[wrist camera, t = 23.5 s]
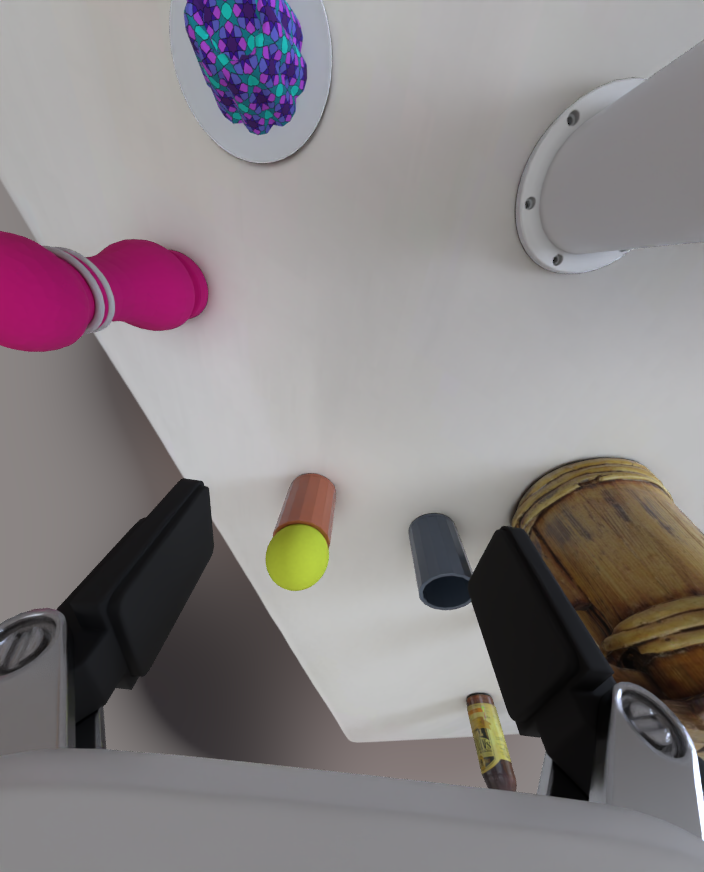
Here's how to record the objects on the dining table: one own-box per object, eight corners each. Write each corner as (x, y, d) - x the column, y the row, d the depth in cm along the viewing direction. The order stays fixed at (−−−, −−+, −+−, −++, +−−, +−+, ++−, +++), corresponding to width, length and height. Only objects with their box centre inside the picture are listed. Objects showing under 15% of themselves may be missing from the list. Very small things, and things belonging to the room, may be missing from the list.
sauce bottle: (472, 690, 68) (510, 834, 50) (497, 694, 68) (543, 839, 51) (459, 702, 71) (490, 842, 53) (483, 706, 71) (522, 847, 54)
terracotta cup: (330, 470, 41) (322, 517, 33) (340, 507, 44) (335, 558, 36) (283, 476, 41) (264, 524, 33) (296, 512, 44) (282, 564, 36)
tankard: (629, 551, 46) (876, 808, 24) (470, 559, 48) (561, 802, 26) (674, 449, 37) (1122, 701, 15) (479, 465, 39) (624, 706, 17)
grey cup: (454, 510, 43) (478, 570, 34) (456, 544, 46) (477, 607, 37) (406, 516, 44) (416, 576, 35) (410, 549, 47) (421, 612, 38)
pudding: (147, 71, 23) (94, 21, 19) (229, -133, 19) (186, -265, 14) (272, 202, 27) (253, 187, 22) (365, 56, 23) (366, -1, 18)
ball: (324, 507, 34) (315, 557, 28) (337, 549, 37) (331, 602, 31) (267, 514, 35) (247, 564, 29) (284, 554, 38) (269, 607, 32)
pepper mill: (200, 337, 33) (10, 409, 15) (133, 297, 31) (-166, 327, 14) (224, 273, 30) (21, 272, 12) (151, 226, 28) (-204, 146, 11)
